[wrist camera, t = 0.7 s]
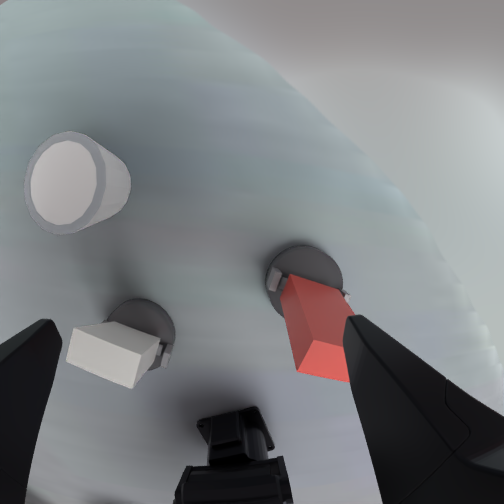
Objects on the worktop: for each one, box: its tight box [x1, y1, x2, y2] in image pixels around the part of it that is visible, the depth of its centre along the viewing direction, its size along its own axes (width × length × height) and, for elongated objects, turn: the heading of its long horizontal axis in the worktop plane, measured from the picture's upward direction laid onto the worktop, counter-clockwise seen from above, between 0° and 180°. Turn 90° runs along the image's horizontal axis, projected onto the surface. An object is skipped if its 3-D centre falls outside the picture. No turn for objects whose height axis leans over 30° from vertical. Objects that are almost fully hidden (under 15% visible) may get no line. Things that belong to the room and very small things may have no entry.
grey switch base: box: [102, 299, 175, 371], centre depth 24 cm, size 6×6×4 cm
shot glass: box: [24, 131, 131, 235], centre depth 20 cm, size 7×7×7 cm
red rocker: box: [278, 274, 355, 382], centre depth 19 cm, size 2×5×10 cm, turn 71°
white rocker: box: [66, 321, 163, 389], centre depth 19 cm, size 2×5×10 cm, turn 71°
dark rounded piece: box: [266, 246, 351, 317], centre depth 24 cm, size 6×6×4 cm
